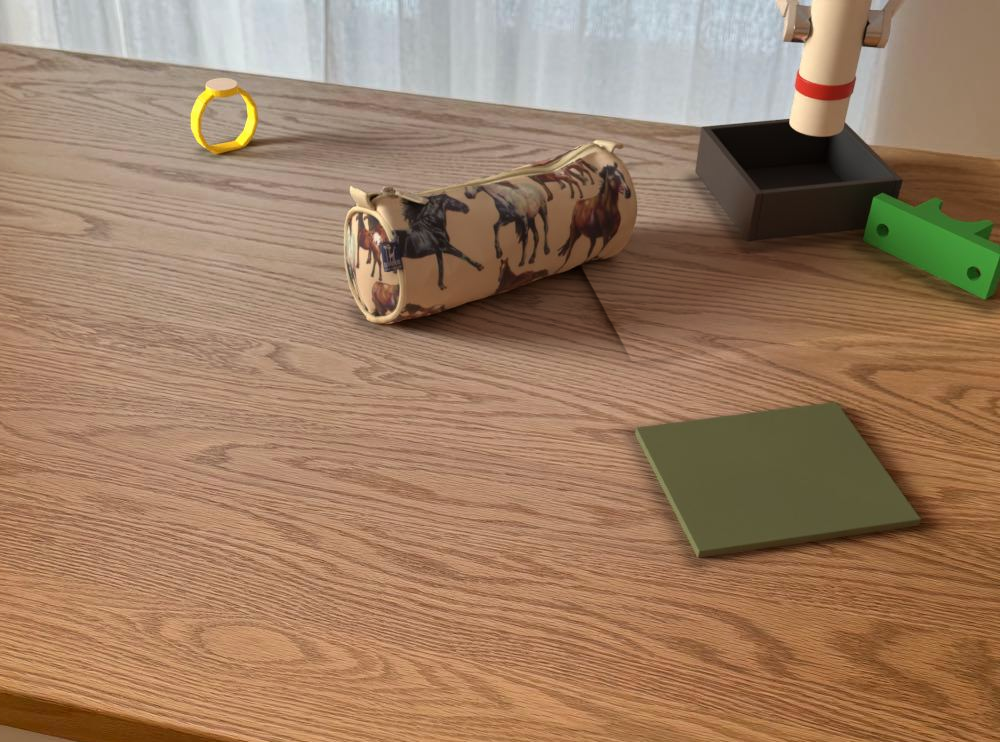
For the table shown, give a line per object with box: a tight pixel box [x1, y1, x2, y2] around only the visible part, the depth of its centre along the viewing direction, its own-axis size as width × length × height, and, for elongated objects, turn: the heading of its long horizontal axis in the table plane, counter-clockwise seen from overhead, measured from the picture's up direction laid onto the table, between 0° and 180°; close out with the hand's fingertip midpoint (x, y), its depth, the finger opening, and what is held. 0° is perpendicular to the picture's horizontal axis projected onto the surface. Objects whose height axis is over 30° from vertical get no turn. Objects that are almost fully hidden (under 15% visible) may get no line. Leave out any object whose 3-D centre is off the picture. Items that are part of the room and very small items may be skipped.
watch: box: [190, 77, 259, 155], centre depth 109 cm, size 6×3×6 cm, turn 127°
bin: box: [695, 118, 904, 242], centre depth 102 cm, size 12×12×5 cm
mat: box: [634, 401, 922, 559], centre depth 77 cm, size 14×12×1 cm
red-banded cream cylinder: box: [789, 0, 873, 137], centre depth 80 cm, size 4×4×10 cm
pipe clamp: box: [862, 193, 1000, 301], centre depth 95 cm, size 11×4×5 cm, turn 39°
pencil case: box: [343, 139, 638, 325], centre depth 91 cm, size 22×8×10 cm, turn 120°
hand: (835, 41), depth 79 cm, fingers closed on red-banded cream cylinder, 3 cm apart
